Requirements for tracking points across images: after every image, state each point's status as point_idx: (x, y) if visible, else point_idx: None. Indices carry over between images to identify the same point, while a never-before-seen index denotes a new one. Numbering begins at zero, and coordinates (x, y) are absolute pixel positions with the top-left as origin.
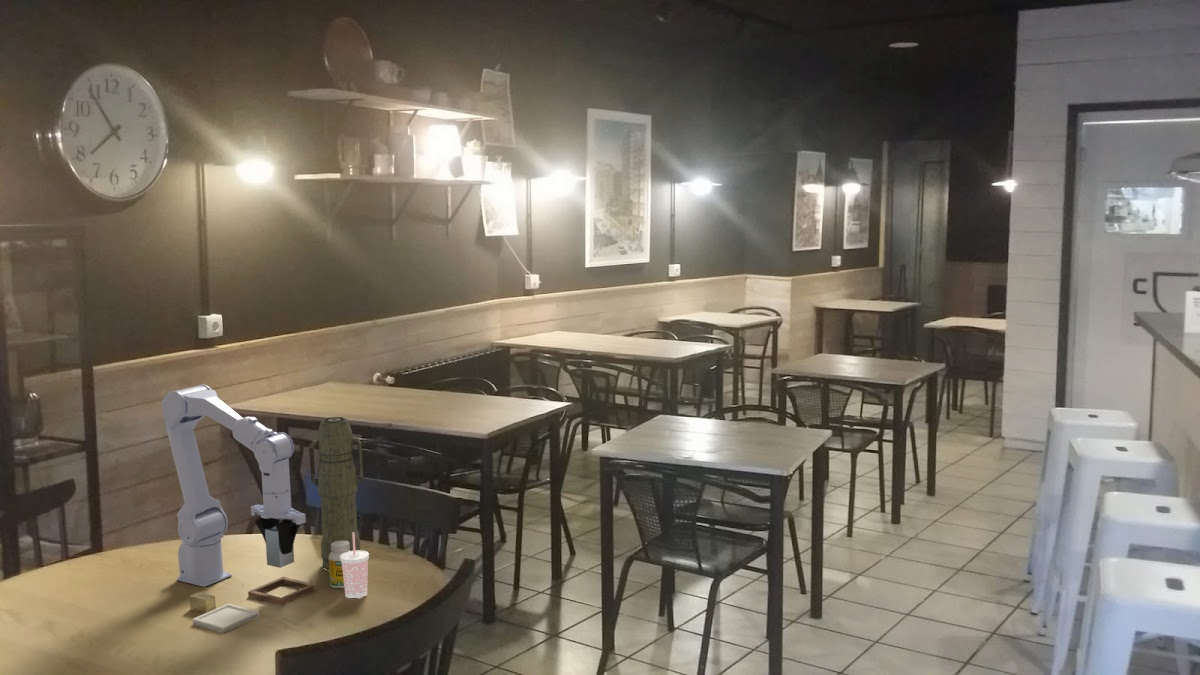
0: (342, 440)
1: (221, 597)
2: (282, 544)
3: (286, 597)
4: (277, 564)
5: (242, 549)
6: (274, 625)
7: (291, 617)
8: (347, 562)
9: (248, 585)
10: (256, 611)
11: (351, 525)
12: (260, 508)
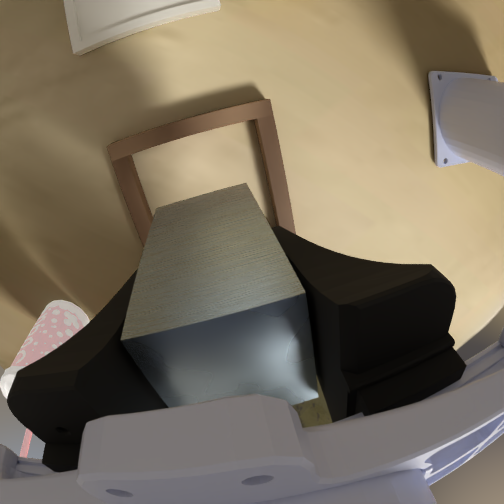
0: None
1: (331, 47)
2: (127, 289)
3: (115, 169)
4: (173, 208)
5: (496, 261)
6: (4, 78)
7: (18, 134)
8: (9, 370)
9: (353, 153)
10: (78, 47)
11: None
12: (496, 422)
